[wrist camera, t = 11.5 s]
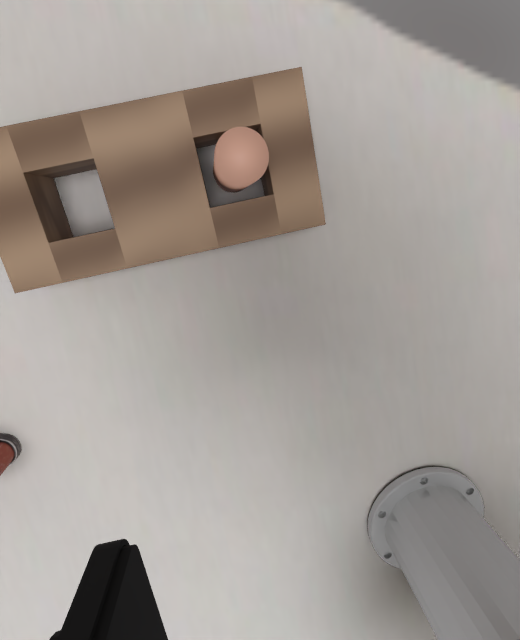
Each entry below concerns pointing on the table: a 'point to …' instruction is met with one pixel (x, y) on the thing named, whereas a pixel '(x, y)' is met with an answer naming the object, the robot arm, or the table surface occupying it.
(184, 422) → the table surface
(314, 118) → the table surface
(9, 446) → the lighter
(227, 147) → the peg
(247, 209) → the hole block
